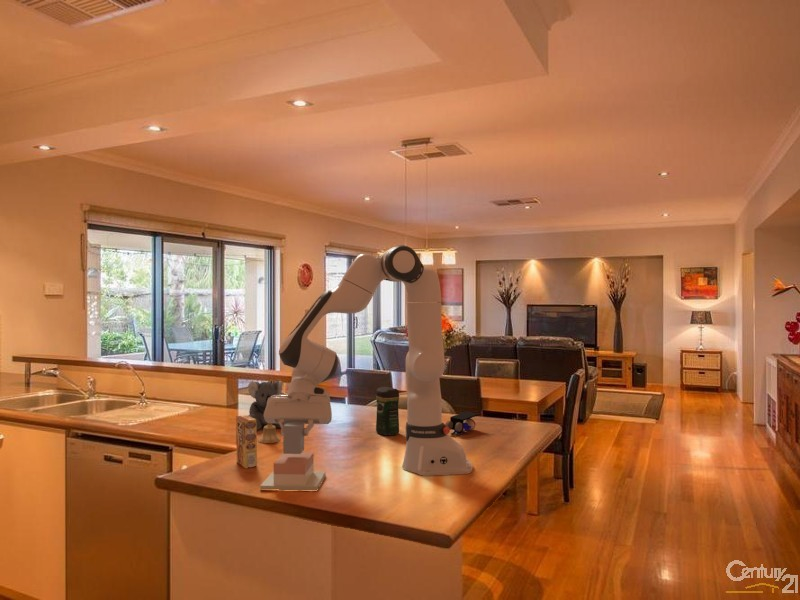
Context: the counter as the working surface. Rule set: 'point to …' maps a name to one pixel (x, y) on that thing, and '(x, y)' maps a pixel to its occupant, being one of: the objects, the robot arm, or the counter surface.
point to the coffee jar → (387, 411)
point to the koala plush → (262, 400)
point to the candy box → (246, 441)
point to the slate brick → (293, 438)
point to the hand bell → (269, 434)
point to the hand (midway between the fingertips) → (294, 434)
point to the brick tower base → (295, 487)
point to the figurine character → (461, 422)
